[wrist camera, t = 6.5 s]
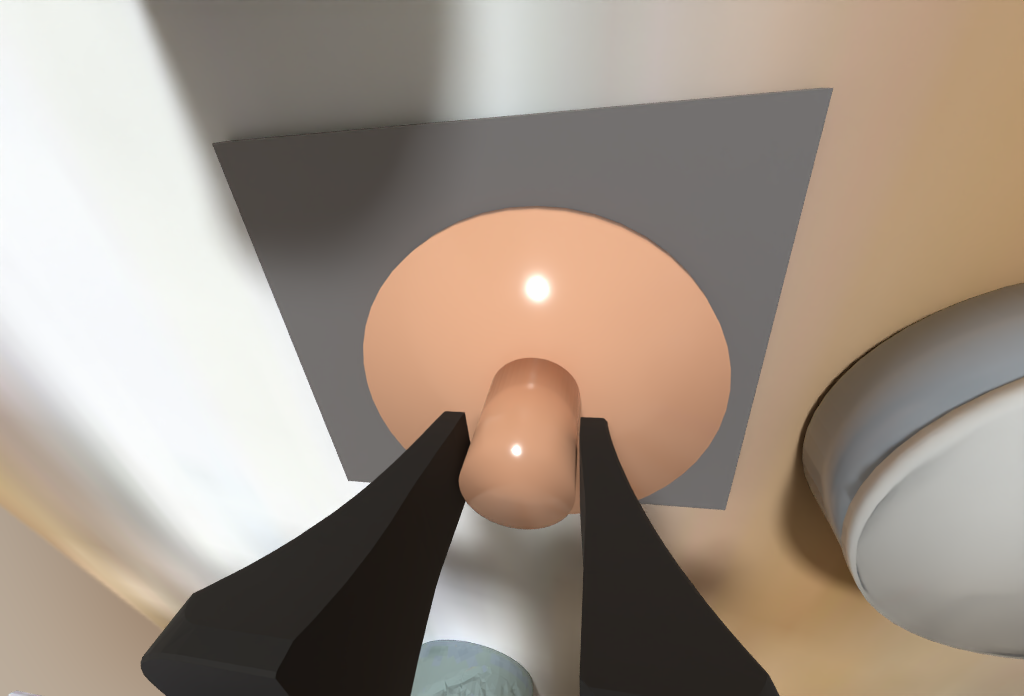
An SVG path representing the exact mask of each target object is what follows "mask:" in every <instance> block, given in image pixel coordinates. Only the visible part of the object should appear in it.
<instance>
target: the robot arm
mask: <svg viewBox="0 0 1024 696" xmlns="http://www.w3.org/2000/svg"><path fill="white" fill-rule="evenodd" d="M470 444H471V443H470V437H469V432H468V426H467V421H466V415H465V412H452V411H444V412H443V413H442V414H441V415H440V416H439V417H438V418H437V419H436V420H435V421H434V422H433V423H432V424H431V425H430V427H429V428H428V429H427V430H426V431H425V432H424V433H423V434H422V435H421V436H420V437H419V438H418V439H417V440H416V441H415V442H414V443H413V444H412V445H411V446H410V447H409V448H408V449H407V450H406V451H405V452H404V453H403V454H402V455H401V456H400V457H399V458H398V459H397V460H396V461H395V462H394V463H392V464H391V465H390V466H389V467H388V468H387V469H386V470H385V471H384V472H383V473H381V474H380V475H379V476H378V477H377V478H376V479H375V480H374V481H373V482H371V483H370V484H369V485H368V486H367V487H366V488H364V489H363V490H362V491H361V492H360V493H358V494H357V495H356V496H355V497H353V498H352V499H351V500H349V501H348V502H347V503H345V504H344V505H343V506H342V507H340V508H339V509H338V510H336V511H335V512H333V513H332V514H331V515H329V516H328V517H326V518H325V519H323V520H322V521H320V522H319V523H317V524H316V525H314V526H313V527H311V528H310V529H308V530H307V531H305V532H304V533H302V534H301V535H299V536H298V537H296V538H295V539H293V540H292V541H290V542H288V543H287V544H285V545H283V546H282V547H280V548H278V549H277V550H275V551H273V552H272V553H270V554H268V555H266V556H265V557H263V558H261V559H259V560H258V561H256V562H254V563H252V564H250V565H248V566H247V567H245V568H243V569H241V570H239V571H237V572H235V573H233V574H231V575H229V576H227V577H225V578H223V579H221V580H219V581H217V582H215V583H213V584H212V585H210V586H208V587H206V588H204V589H202V590H199V591H197V592H195V593H193V594H192V595H191V597H190V598H189V599H188V600H187V601H186V603H185V604H184V605H183V606H182V608H181V609H180V610H179V612H178V613H177V614H176V615H175V617H174V618H173V619H172V620H171V622H170V623H169V624H168V625H167V627H166V628H165V629H164V630H163V632H162V633H161V634H160V636H159V637H158V638H157V639H156V641H155V642H154V643H153V644H152V646H151V647H150V648H149V649H148V651H147V652H146V653H145V654H144V656H143V657H142V660H141V669H142V671H143V674H144V675H145V677H146V678H147V679H148V680H149V681H150V682H151V683H152V684H153V685H154V686H156V687H157V688H158V689H159V690H160V691H161V692H162V693H164V694H165V695H166V696H411V692H412V687H413V683H414V678H415V673H416V668H417V664H418V659H419V655H420V651H421V646H422V642H423V638H424V634H425V629H426V625H427V621H428V617H429V613H430V609H431V605H432V601H433V597H434V593H435V589H436V585H437V582H438V579H439V575H440V572H441V569H442V566H443V563H444V561H445V558H446V555H447V552H448V549H449V547H450V544H451V541H452V538H453V535H454V532H455V530H456V527H457V524H458V521H459V518H460V515H461V513H462V510H463V507H464V504H465V499H464V497H463V496H462V493H461V491H460V487H459V475H460V472H461V469H462V466H463V464H464V461H465V458H466V455H467V452H468V449H469V446H470ZM579 462H580V517H581V533H582V550H583V566H584V572H583V601H582V628H581V654H580V696H779V694H778V692H777V690H776V688H775V686H774V684H773V682H772V680H771V678H770V676H769V674H768V673H767V672H766V671H765V670H764V669H763V668H762V667H761V665H760V664H759V663H758V662H757V661H756V660H755V659H754V658H753V657H752V656H751V654H750V653H749V652H748V651H747V650H746V649H745V648H744V647H743V645H742V644H741V643H740V642H739V641H738V640H737V639H736V637H735V636H734V635H733V634H732V633H731V632H730V631H729V629H728V628H727V627H726V626H725V625H724V623H723V622H722V621H721V620H720V619H719V617H718V616H717V615H716V614H715V612H714V611H713V610H712V609H711V608H710V606H709V605H708V604H707V603H706V601H705V600H704V599H703V597H702V596H701V595H700V593H699V592H698V591H697V589H696V588H695V587H694V585H693V584H692V583H691V581H690V580H689V579H688V577H687V576H686V575H685V573H684V572H683V571H682V569H681V568H680V567H679V565H678V564H677V563H676V561H675V560H674V558H673V557H672V555H671V554H670V552H669V551H668V549H667V548H666V546H665V545H664V543H663V542H662V540H661V539H660V537H659V535H658V534H657V532H656V531H655V529H654V527H653V526H652V524H651V522H650V521H649V519H648V517H647V516H646V514H645V512H644V510H643V508H642V507H641V505H640V503H639V501H638V499H637V497H636V495H635V493H634V491H633V489H632V487H631V485H630V483H629V481H628V479H627V477H626V475H625V472H624V470H623V468H622V466H621V463H620V461H619V459H618V456H617V453H616V451H615V448H614V445H613V442H612V439H611V436H610V432H609V428H608V422H607V421H606V420H605V419H604V418H593V417H581V419H580V433H579ZM8 696H40V695H35V694H31V693H26V692H21V691H15V692H12V693H10V694H9V695H8Z"/></svg>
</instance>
